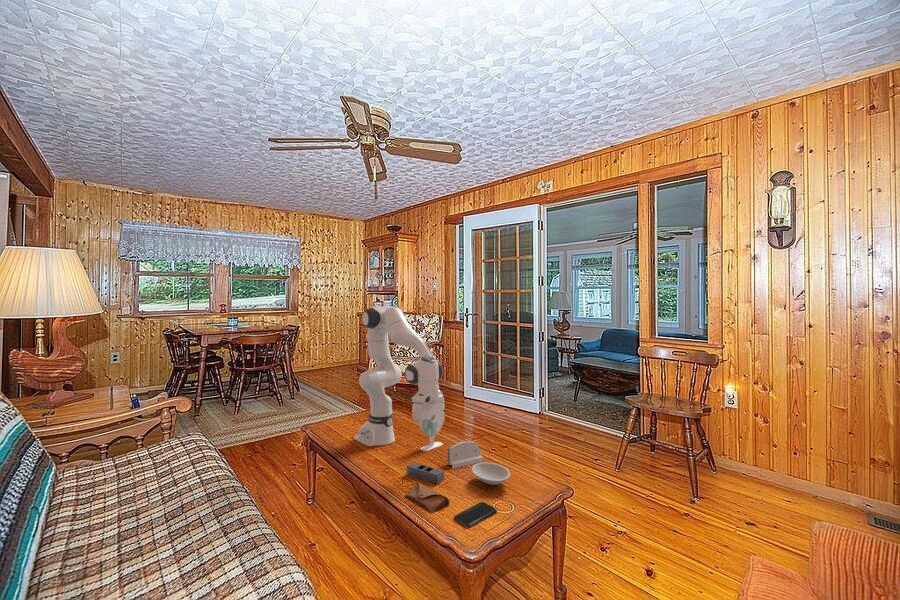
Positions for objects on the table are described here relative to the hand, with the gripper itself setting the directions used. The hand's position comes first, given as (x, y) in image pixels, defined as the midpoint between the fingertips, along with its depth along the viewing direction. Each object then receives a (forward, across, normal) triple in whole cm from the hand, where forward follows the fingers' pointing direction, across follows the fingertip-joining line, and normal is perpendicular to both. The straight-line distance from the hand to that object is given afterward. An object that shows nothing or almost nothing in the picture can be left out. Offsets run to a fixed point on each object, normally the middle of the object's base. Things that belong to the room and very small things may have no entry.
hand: (429, 425), depth 174 cm
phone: (+21, +20, +33) cm, 44 cm away
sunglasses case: (+21, +21, +12) cm, 32 cm away
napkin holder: (+20, -16, +8) cm, 27 cm away
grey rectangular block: (+20, +6, +1) cm, 21 cm away
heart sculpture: (+20, -24, -15) cm, 34 cm away
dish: (+21, -4, +27) cm, 35 cm away
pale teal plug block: (+4, 0, 0) cm, 4 cm away
